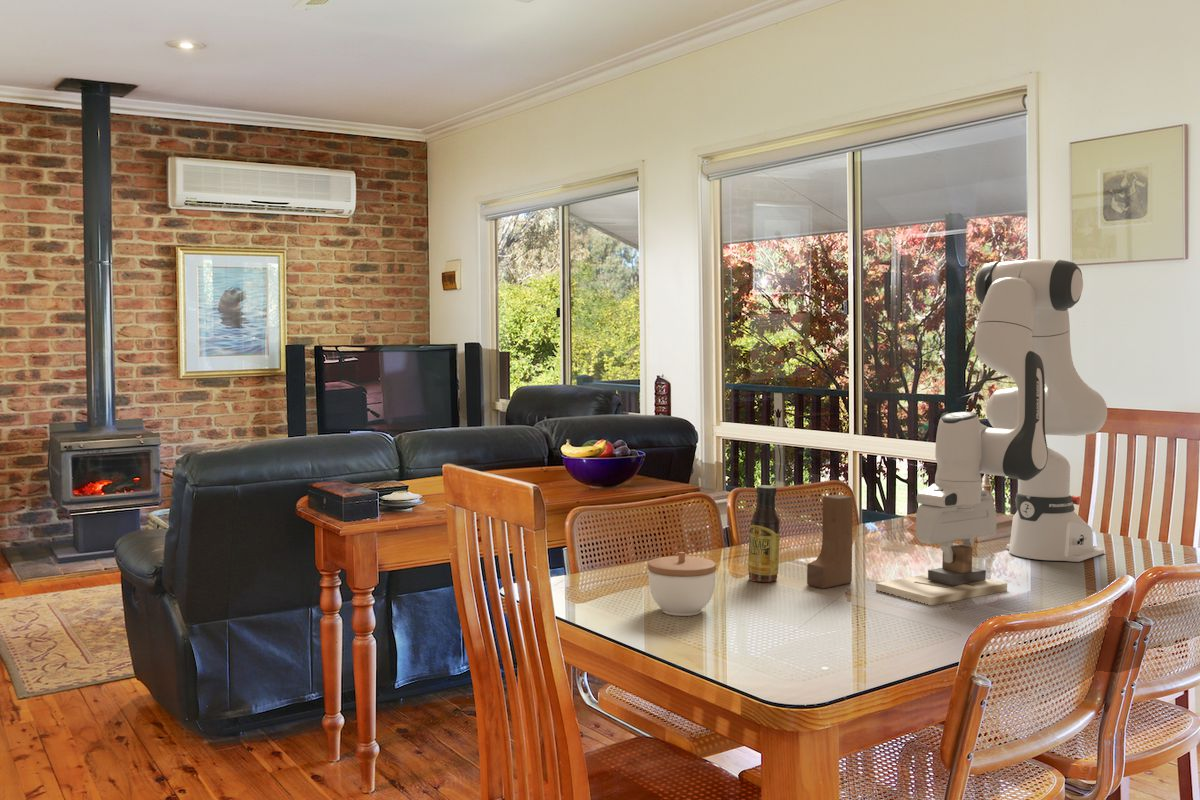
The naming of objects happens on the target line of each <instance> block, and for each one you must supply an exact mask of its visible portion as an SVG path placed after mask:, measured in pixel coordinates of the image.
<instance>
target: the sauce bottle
mask: <svg viewBox="0 0 1200 800" xmlns="http://www.w3.org/2000/svg"><path fill="white" fill-rule="evenodd" d="M756 494H757V499H756V507H755V511H754V514H753V516H752V519H751V523H750V525H749V538H748V539H749V540H748V541H749V542H748V546H749V547H748V567H747V569H748V571H747V572H748V578H749V580H751V581H754V582H757V583H767V584H768V583H772V582H776V581H777V579H778V574H779V564H780V563H779V559H780V538H781V537H780V536H781V532H780V527H781V526H780V524H781V519H780V516H779V514H778V512H777V510H776V495H777V486H774V485H768V484H767V485H766V484H761V485H760V484H759V485H757V486H756Z"/></svg>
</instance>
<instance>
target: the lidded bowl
mask: <svg viewBox="0 0 1200 800" xmlns="http://www.w3.org/2000/svg"><path fill="white" fill-rule="evenodd" d="M647 570H648V585H649V591H650V593H651V596H652V599H653V601H654V602H655V604H657V606H658V607H660V609H662V613H664V614H666V615H669V616H675V617H693V616H696V615H699V614H701V613H702V610H703V609H704V608H705V607H706V606H707V605H708V604H709V603H710V601H711V599H712V597H713V594H714V591H715V583H716V570H717V564H716V562H715V561H714V560H712V559H708V558H705V557H699V556H689V555H686V552H685V551H678V555H669V556H661V557H656V558H653V559H651V560H649V561H648V562H647Z"/></svg>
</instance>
